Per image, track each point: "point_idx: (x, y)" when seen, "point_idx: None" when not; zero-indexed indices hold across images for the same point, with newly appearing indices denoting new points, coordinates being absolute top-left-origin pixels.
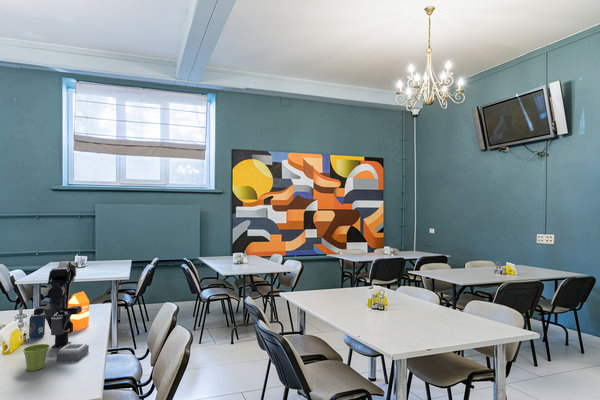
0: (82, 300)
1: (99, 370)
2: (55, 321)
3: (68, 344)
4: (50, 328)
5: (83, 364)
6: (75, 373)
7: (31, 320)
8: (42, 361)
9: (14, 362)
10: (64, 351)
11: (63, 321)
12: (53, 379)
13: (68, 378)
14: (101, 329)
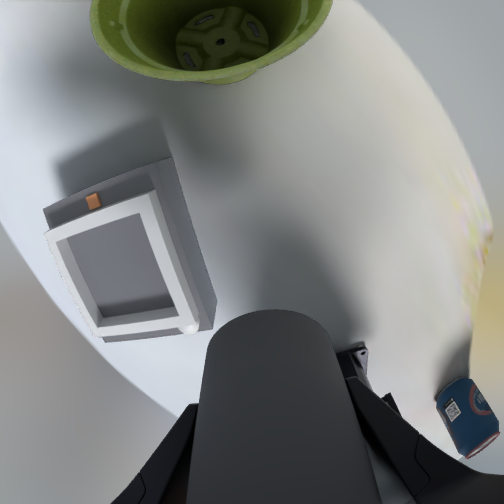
0: None
1: None
2: (251, 492)
3: (184, 315)
4: (356, 384)
5: (26, 170)
6: (6, 81)
7: (492, 419)
8: (156, 27)
9: (419, 125)
10: (119, 202)
11: (156, 488)
12: (50, 4)
13: (10, 40)
14: None
